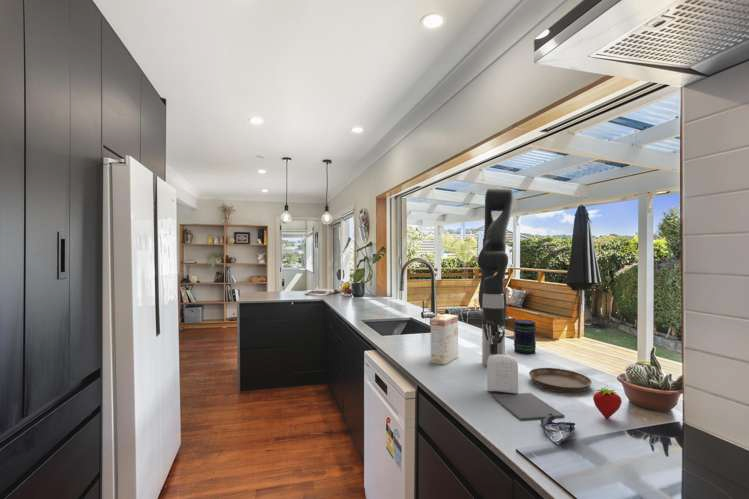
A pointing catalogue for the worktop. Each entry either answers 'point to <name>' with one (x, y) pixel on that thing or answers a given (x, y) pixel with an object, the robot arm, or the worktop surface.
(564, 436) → the snack package
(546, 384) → the plant saucer
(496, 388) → the photo printer
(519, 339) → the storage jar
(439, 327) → the coffeecake box
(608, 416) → the strawberry
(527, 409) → the mat
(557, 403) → the worktop surface
